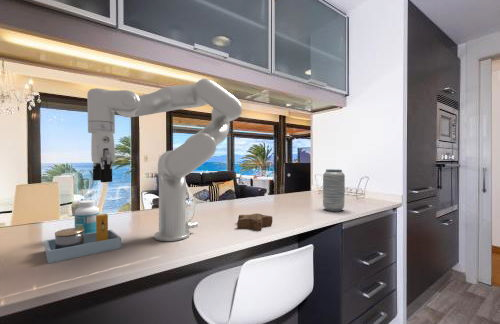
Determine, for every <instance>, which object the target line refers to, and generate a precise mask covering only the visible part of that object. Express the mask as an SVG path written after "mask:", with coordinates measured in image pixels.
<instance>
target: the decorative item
mask: <svg viewBox="0 0 500 324" xmlns="http://www.w3.org/2000/svg"><path fill="white" fill-rule="evenodd" d="M237 217H238V218H237V219H238V220H237V223H236V226H237V229H251V230H256V231H261V230H262V228H264V227H265V228H266V227H271V226H272V225H273V216H272V215H266V214H265V215H264V214H261V213H252V214H239V215H238V216H237Z"/></svg>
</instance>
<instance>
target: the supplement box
mask: <svg viewBox="0 0 500 324" xmlns="http://www.w3.org/2000/svg"><path fill="white" fill-rule="evenodd" d="M108 230H109V214H108V213H99V215H96V242H98V241H103V240H108Z"/></svg>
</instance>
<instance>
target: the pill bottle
mask: <svg viewBox="0 0 500 324" xmlns="http://www.w3.org/2000/svg"><path fill="white" fill-rule="evenodd" d="M78 203H79V204H78V205H79V207H77V208H76V209H74V228H84V234H88V233H94V232H96V215H100V208H99V207H98V206H95V204H96V200H94V199H93V200H91V199H89V200H80V201H79V202H78Z"/></svg>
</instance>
